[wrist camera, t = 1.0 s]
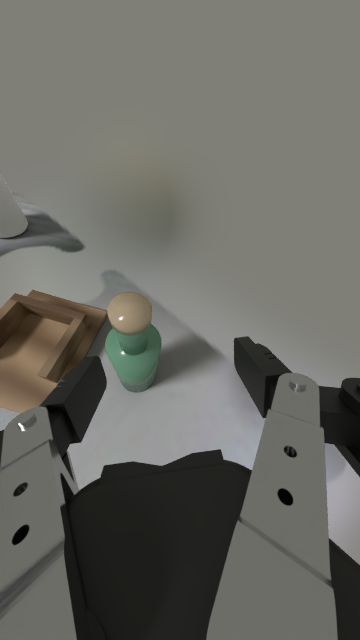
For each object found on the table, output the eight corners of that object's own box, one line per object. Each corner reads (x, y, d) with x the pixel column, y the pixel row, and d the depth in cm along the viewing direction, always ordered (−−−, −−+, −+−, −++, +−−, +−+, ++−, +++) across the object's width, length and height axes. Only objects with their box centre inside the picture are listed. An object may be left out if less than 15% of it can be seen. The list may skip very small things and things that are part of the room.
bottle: (122, 396, 28) (91, 352, 12) (117, 361, 30) (87, 284, 14) (158, 387, 29) (176, 335, 13) (151, 354, 32) (158, 277, 16)
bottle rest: (49, 420, 25) (32, 419, 21) (-52, 392, 25) (-88, 385, 21) (107, 314, 34) (103, 300, 31) (35, 293, 34) (21, 276, 30)
